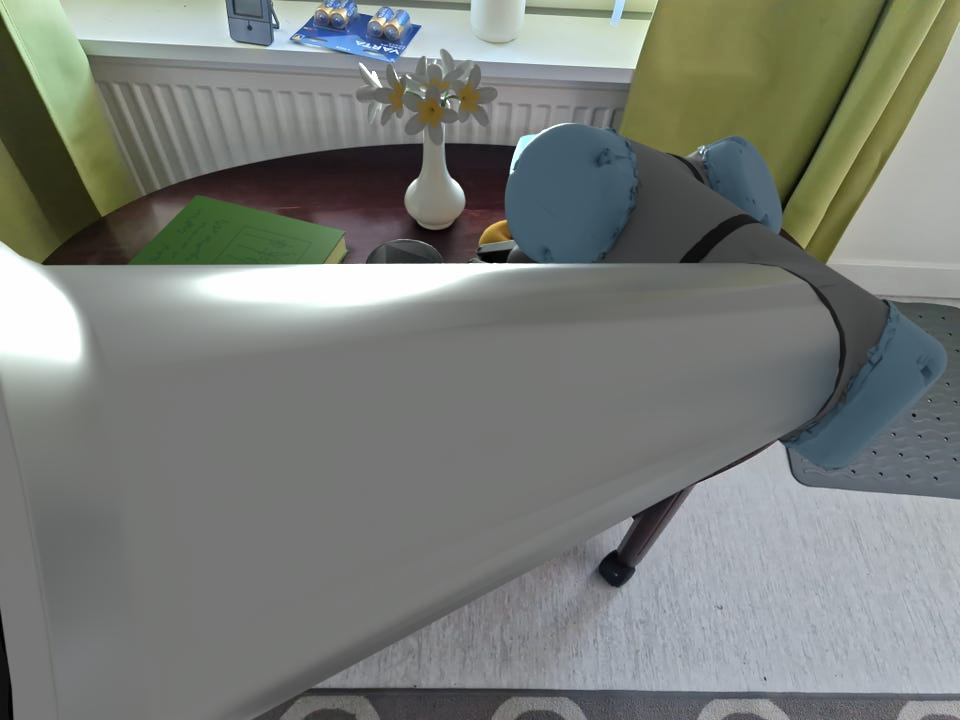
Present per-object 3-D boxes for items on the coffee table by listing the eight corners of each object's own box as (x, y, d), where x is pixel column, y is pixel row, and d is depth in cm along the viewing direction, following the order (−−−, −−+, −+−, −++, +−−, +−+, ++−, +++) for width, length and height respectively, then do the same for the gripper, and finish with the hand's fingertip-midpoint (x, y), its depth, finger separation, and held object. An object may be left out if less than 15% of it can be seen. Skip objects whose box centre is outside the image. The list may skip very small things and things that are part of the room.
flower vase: (376, 191, 105) (360, 34, 86) (489, 196, 105) (499, 40, 86) (366, 244, 97) (346, 83, 78) (489, 249, 97) (499, 90, 78)
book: (126, 296, 88) (115, 276, 85) (204, 215, 100) (196, 195, 97) (292, 342, 84) (286, 323, 81) (353, 252, 96) (350, 232, 93)
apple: (524, 250, 97) (530, 201, 90) (549, 289, 92) (557, 241, 85) (468, 263, 95) (470, 213, 88) (490, 304, 90) (494, 255, 83)
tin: (416, 455, 72) (405, 304, 53) (373, 422, 74) (348, 266, 56) (456, 417, 75) (459, 262, 57) (413, 386, 78) (403, 228, 59)
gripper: (563, 423, 45) (380, 469, 59) (624, 212, 60) (467, 288, 74) (494, 354, 42) (319, 420, 56) (577, 150, 57) (423, 242, 71)
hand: (403, 345), depth 65 cm, fingers open, 13 cm apart
